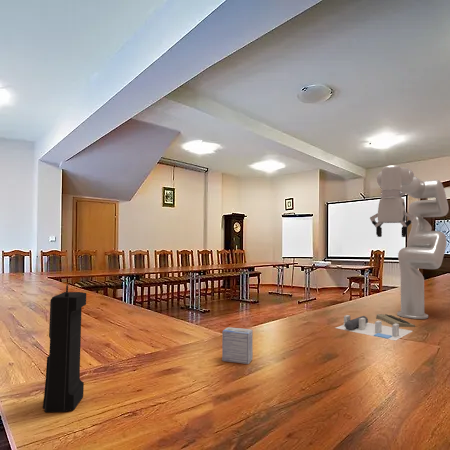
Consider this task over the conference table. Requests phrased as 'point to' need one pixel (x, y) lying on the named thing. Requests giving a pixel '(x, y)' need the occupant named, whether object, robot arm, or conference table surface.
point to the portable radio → (64, 353)
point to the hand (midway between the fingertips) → (391, 236)
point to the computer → (394, 320)
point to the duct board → (376, 329)
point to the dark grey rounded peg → (354, 323)
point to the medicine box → (237, 345)
